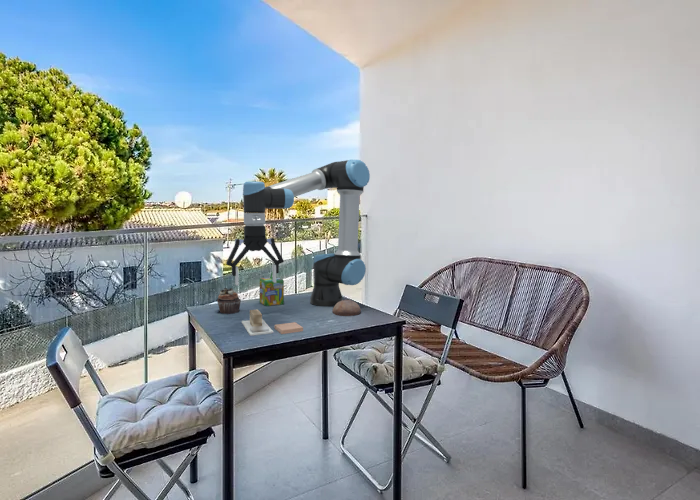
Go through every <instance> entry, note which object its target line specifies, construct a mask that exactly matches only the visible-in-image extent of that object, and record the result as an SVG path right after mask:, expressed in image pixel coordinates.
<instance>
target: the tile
mask: <svg viewBox="0 0 700 500" xmlns="http://www.w3.org/2000/svg"><path fill="white" fill-rule="evenodd" d="M274 329H275V331H276V332H278V333H279V334H280V335H284V334H285V335H286V334H291V333H298V332H299V333H300V332H303V331H304V327H303V326H301V325H300V324H298V323H297V322H296V321H295V322H294V321H293V322H287V323H279V324H274Z"/></svg>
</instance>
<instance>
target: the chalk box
mask: <svg viewBox="0 0 700 500" xmlns="http://www.w3.org/2000/svg"><path fill="white" fill-rule="evenodd" d="M284 287H285V280H284V279H283V278H280V277H278V276H276V283H274V282H273V273H272V272H271V274H270V277H259V304H262V305H263V306H264V307H269V306H279V305H280V306H281V305H284V304H285V297H284V295H285V293H284V292H285V290H284V289H285V288H284Z"/></svg>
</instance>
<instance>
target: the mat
mask: <svg viewBox="0 0 700 500" xmlns="http://www.w3.org/2000/svg"><path fill="white" fill-rule="evenodd" d="M241 324H242V325H243V327H244V328H245V330H246V331H247V333H248V335H249V336H251V337H253V336H261V335H271V334H274V330H273V329H272V328H271V327H270V325H269V324H267V323H266V321H265V319H263V318H262V326H264V325H266V326H267V327H268V328H269V331H267V332H258V333H252V332H251V331H250V327H252V325H251V324H250V319H249V320H241Z"/></svg>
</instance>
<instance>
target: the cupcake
mask: <svg viewBox="0 0 700 500" xmlns="http://www.w3.org/2000/svg"><path fill="white" fill-rule="evenodd" d="M241 301H242V299H240V297H239V294H238V293H237V292H236V291H235V290H234V288H232V287H230V288H227V287H224V288H223V289H221V290H220V291H219V295H218V297H217V299H216V302H217V304H218V310H219V313H220V314H222V315H231V314H237V313H239V312H240V309H241V308H240V307H241Z"/></svg>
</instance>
